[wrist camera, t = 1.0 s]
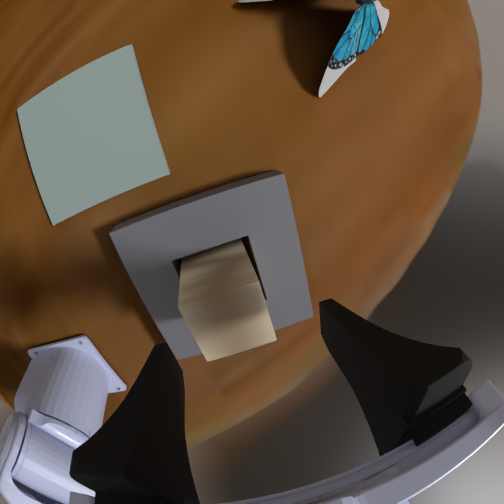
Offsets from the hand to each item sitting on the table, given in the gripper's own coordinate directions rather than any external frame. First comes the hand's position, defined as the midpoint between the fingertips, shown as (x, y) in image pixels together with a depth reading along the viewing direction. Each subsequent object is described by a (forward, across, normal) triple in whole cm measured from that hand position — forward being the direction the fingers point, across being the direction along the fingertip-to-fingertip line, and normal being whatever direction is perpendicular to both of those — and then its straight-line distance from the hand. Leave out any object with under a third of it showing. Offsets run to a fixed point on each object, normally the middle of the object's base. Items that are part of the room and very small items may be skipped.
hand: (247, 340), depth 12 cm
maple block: (+10, +1, +1) cm, 10 cm away
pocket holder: (+10, +1, +1) cm, 10 cm away
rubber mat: (+10, +8, -12) cm, 17 cm away
